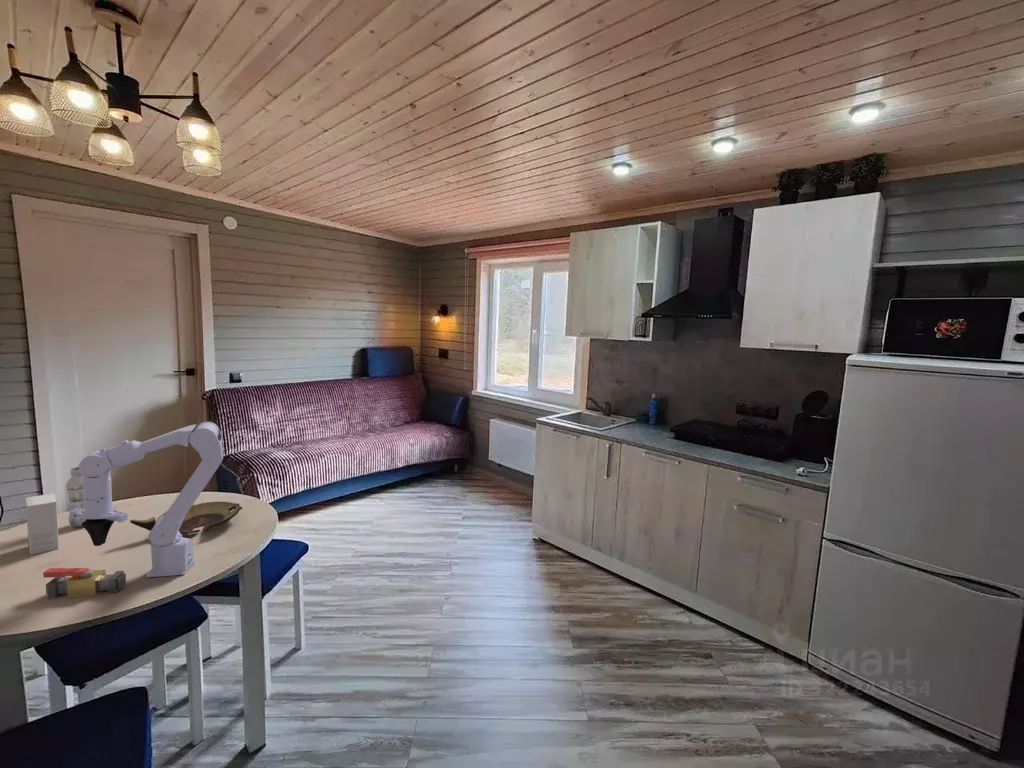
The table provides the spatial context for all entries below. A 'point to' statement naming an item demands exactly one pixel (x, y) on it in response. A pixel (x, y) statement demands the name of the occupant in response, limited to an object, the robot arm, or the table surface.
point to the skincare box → (42, 523)
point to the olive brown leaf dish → (200, 517)
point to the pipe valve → (86, 584)
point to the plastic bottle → (75, 495)
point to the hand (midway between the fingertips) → (99, 544)
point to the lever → (67, 572)
